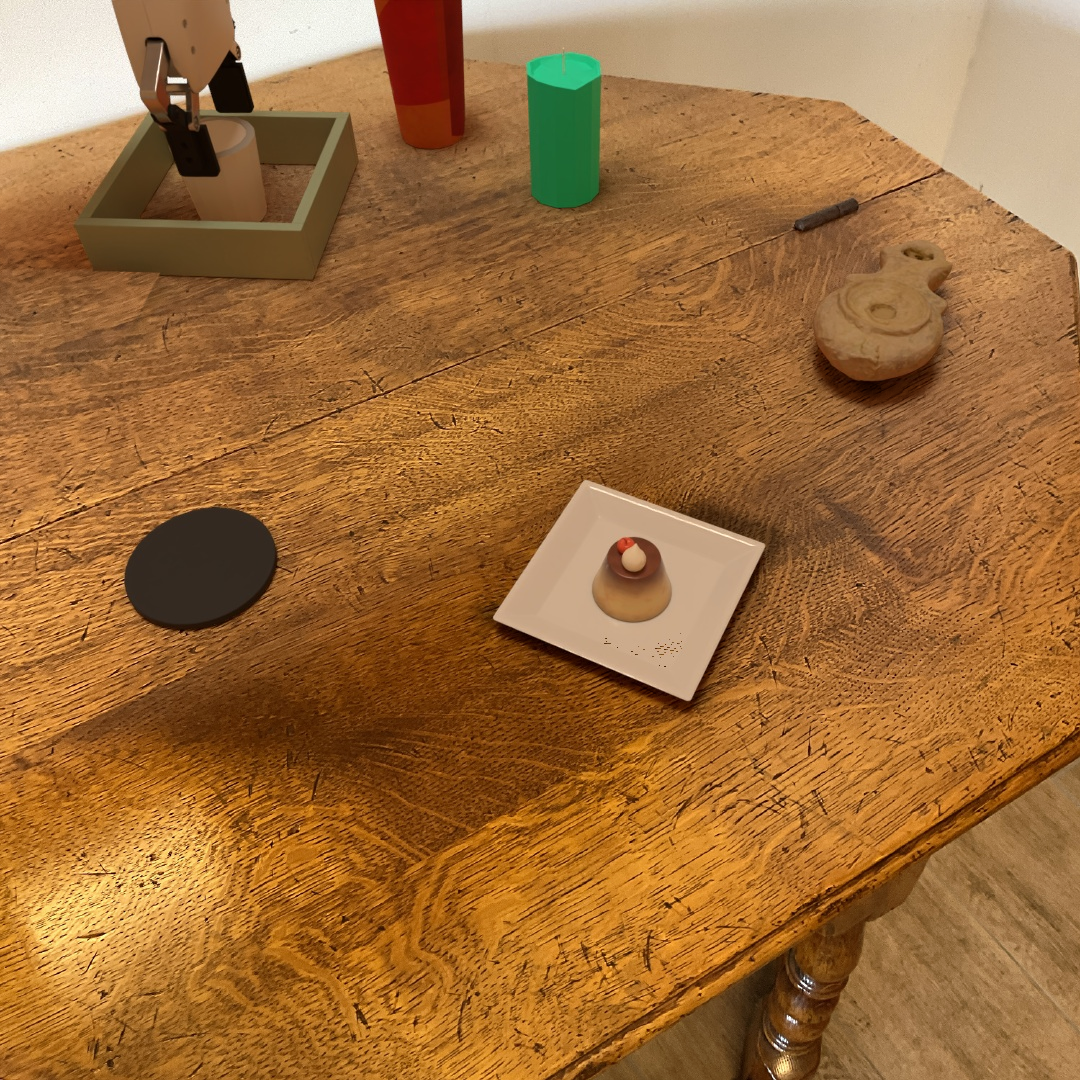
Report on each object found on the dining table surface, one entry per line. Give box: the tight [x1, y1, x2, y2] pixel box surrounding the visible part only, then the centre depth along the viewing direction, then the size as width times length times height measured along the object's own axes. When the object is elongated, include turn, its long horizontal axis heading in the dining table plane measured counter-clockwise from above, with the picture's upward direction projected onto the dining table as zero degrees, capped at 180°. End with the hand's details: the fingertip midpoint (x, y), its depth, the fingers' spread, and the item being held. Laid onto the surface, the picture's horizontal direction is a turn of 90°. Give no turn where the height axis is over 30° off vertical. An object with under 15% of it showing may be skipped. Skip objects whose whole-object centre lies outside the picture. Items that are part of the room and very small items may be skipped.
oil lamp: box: [812, 239, 954, 382], centre depth 71 cm, size 11×14×5 cm
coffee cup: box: [373, 0, 466, 150], centre depth 87 cm, size 8×8×15 cm
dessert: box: [492, 479, 766, 702], centre depth 57 cm, size 12×12×5 cm
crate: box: [73, 108, 359, 281], centre depth 84 cm, size 18×18×4 cm
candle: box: [526, 47, 602, 209], centre depth 82 cm, size 6×6×12 cm
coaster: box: [123, 506, 278, 631], centre depth 60 cm, size 9×9×1 cm
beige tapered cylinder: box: [169, 116, 268, 222], centre depth 83 cm, size 7×7×7 cm
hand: (219, 142), depth 80 cm, fingers open, 9 cm apart
